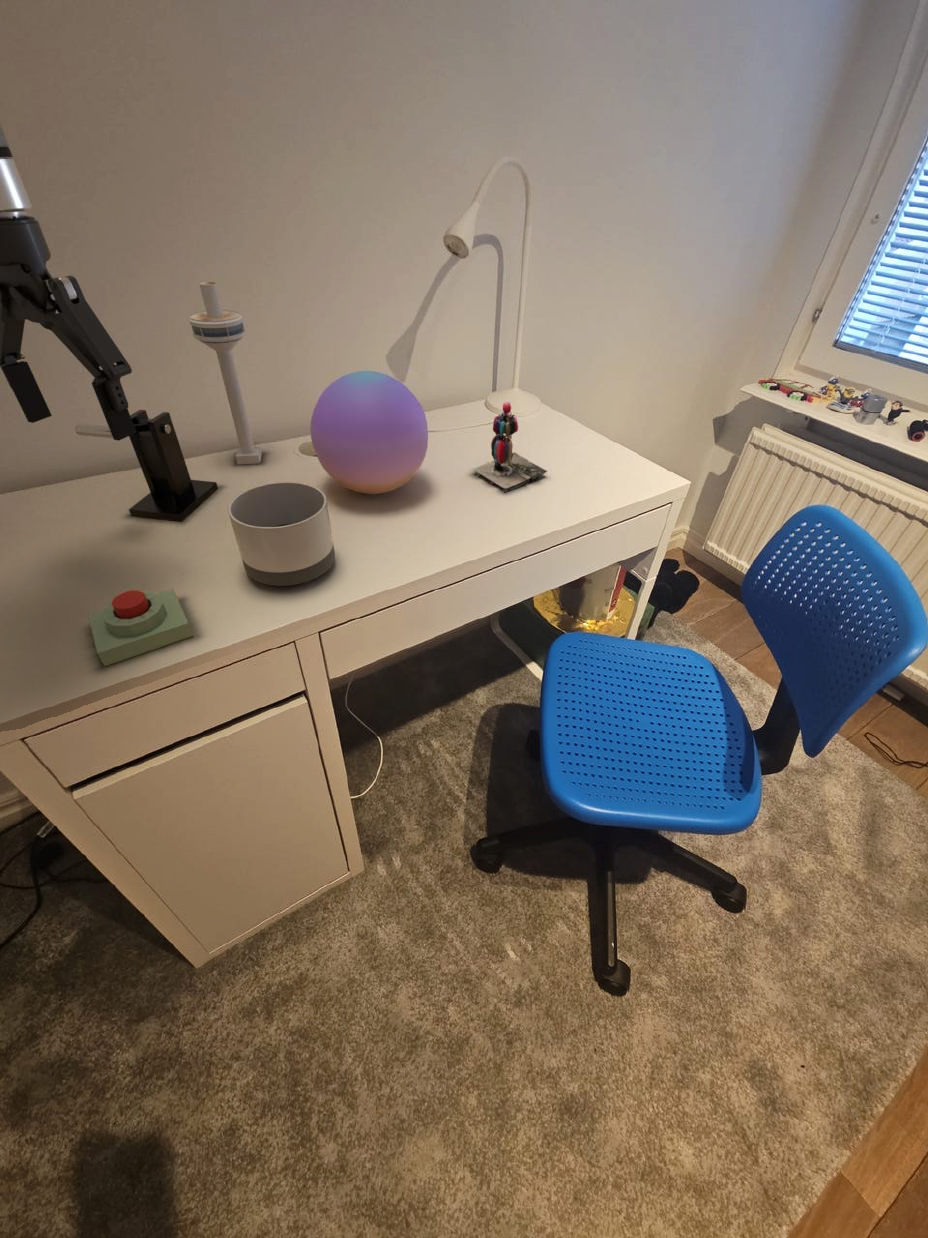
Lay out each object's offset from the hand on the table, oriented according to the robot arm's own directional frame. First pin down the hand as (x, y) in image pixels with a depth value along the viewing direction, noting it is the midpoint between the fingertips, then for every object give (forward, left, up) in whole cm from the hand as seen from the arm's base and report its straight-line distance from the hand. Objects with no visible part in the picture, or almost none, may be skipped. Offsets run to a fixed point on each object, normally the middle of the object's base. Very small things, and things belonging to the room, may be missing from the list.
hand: (81, 427), depth 67 cm
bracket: (+15, +9, -20) cm, 27 cm away
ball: (+36, -18, -20) cm, 45 cm away
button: (-11, -14, -16) cm, 24 cm away
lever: (+10, +8, -6) cm, 14 cm away
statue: (+53, -38, -20) cm, 68 cm away
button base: (-11, -14, -20) cm, 26 cm away
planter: (+9, -21, -20) cm, 30 cm away
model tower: (+34, +10, -20) cm, 41 cm away
